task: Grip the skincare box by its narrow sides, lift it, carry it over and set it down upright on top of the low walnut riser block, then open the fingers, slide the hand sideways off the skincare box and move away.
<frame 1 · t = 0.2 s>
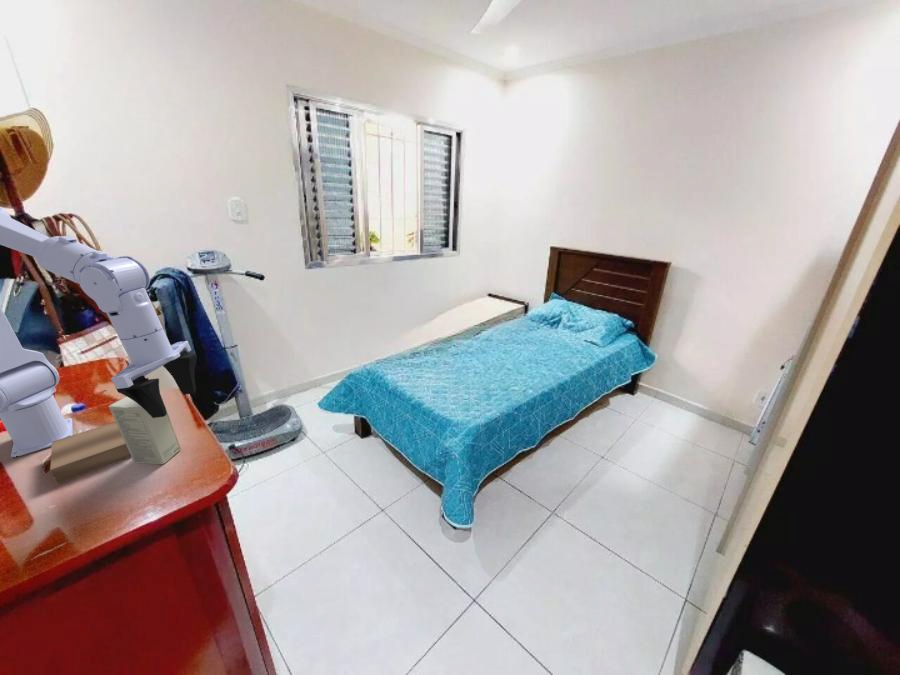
hand: (175, 404, 64), 10 cm above the table, tool pointing down, fingers open, 7 cm apart
riser: (96, 455, 67), on the table
skincare box: (157, 457, 67), on the table
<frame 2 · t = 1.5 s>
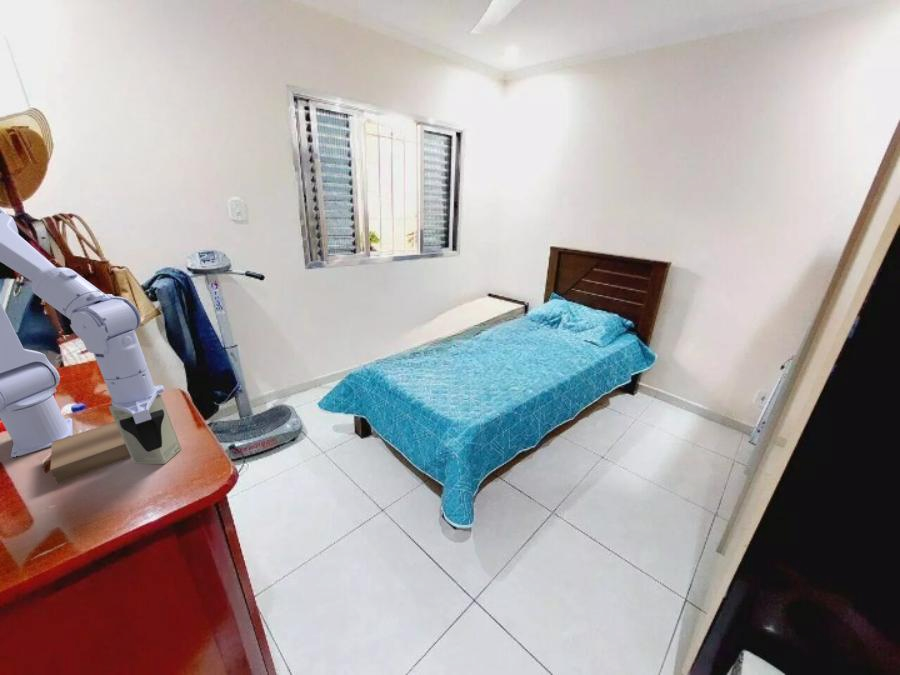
hand: (151, 438, 65), 4 cm above the table, tool pointing down, fingers open, 7 cm apart
skincare box: (157, 457, 67), on the table, touching gripper
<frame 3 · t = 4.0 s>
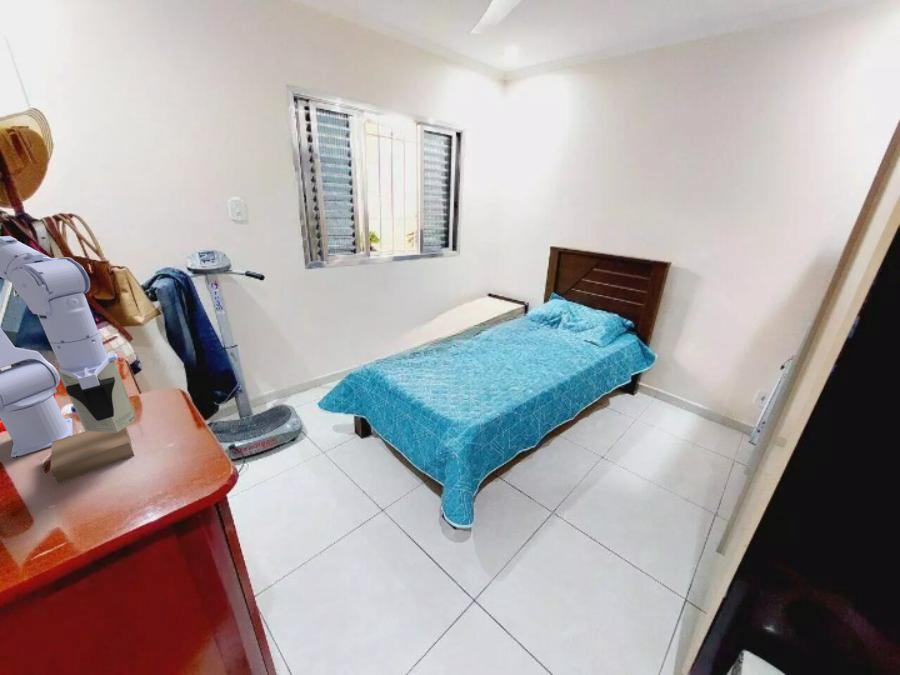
hand: (103, 408, 63), 10 cm above the table, tool pointing down, fingers closed on skincare box, 7 cm apart
skincare box: (111, 426, 64), point 6 cm above the table, touching gripper
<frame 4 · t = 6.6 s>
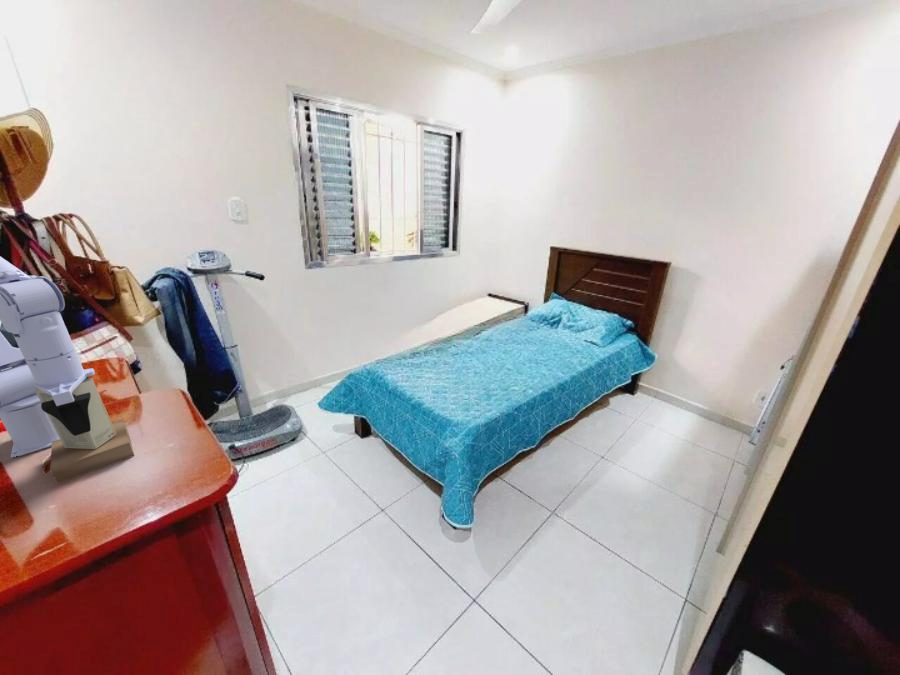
hand: (81, 422, 64), 7 cm above the table, tool pointing down, fingers closed on skincare box, 7 cm apart
skincare box: (90, 442, 66), point 3 cm above the table, touching gripper, riser
when the fingers open (7 cm above the table, at t = 7.7 s): skincare box stays where it is, resting on riser.
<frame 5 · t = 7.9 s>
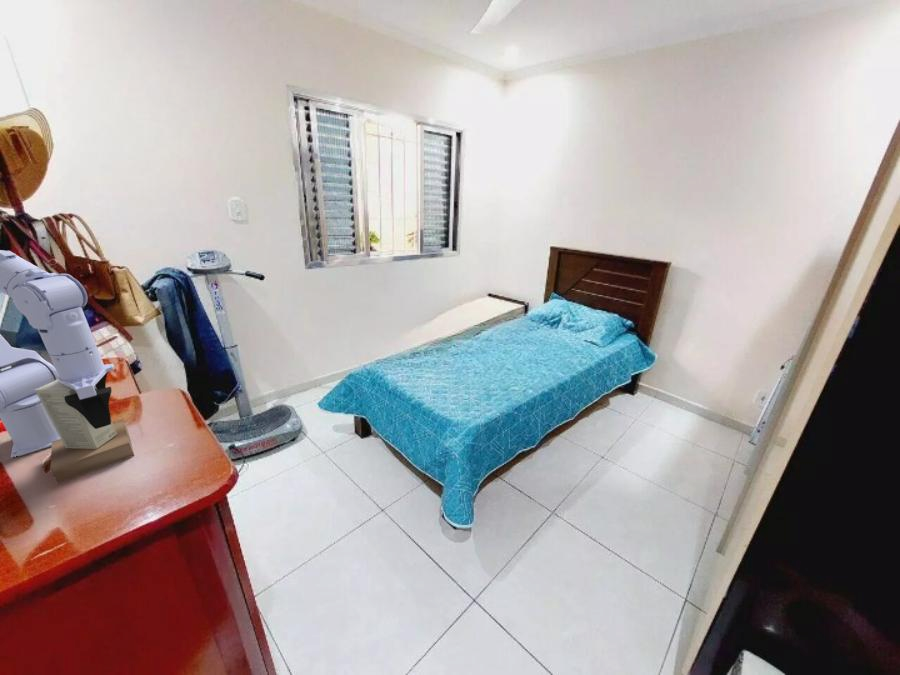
hand: (101, 416, 66), 7 cm above the table, tool pointing down, fingers open, 7 cm apart
skincare box: (91, 442, 66), point 3 cm above the table, touching riser
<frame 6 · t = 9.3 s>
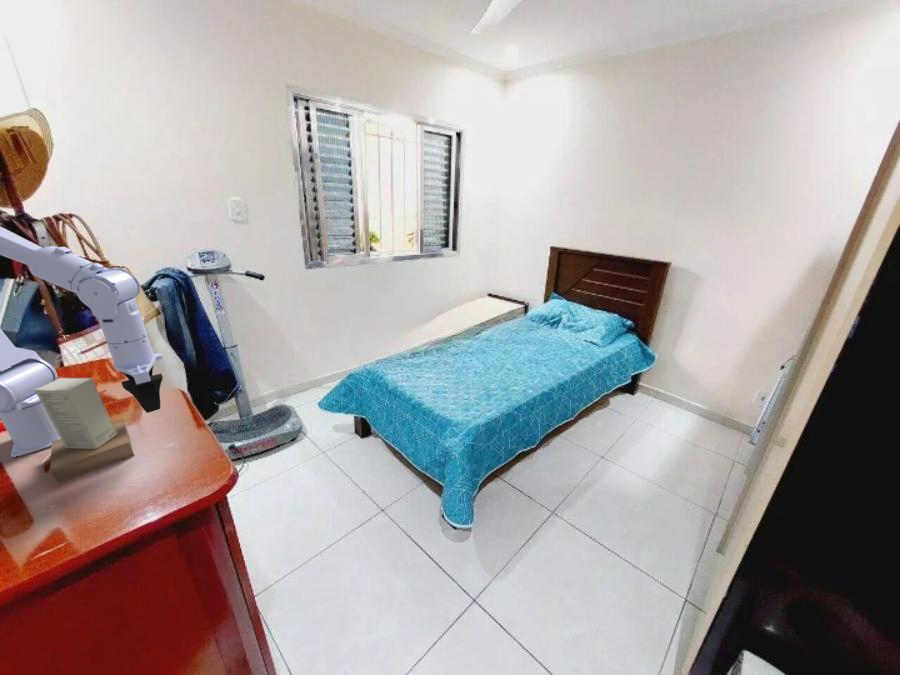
hand: (150, 402, 70), 7 cm above the table, tool pointing down, fingers open, 7 cm apart
nothing on the table moved.
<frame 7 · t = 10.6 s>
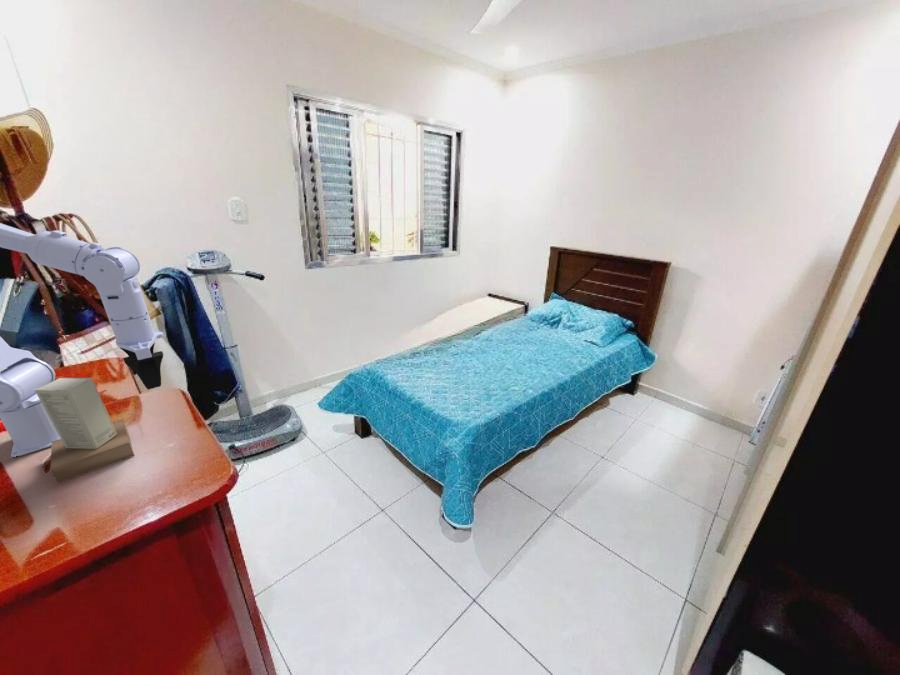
hand: (151, 380, 72), 10 cm above the table, tool pointing down, fingers open, 7 cm apart
nothing on the table moved.
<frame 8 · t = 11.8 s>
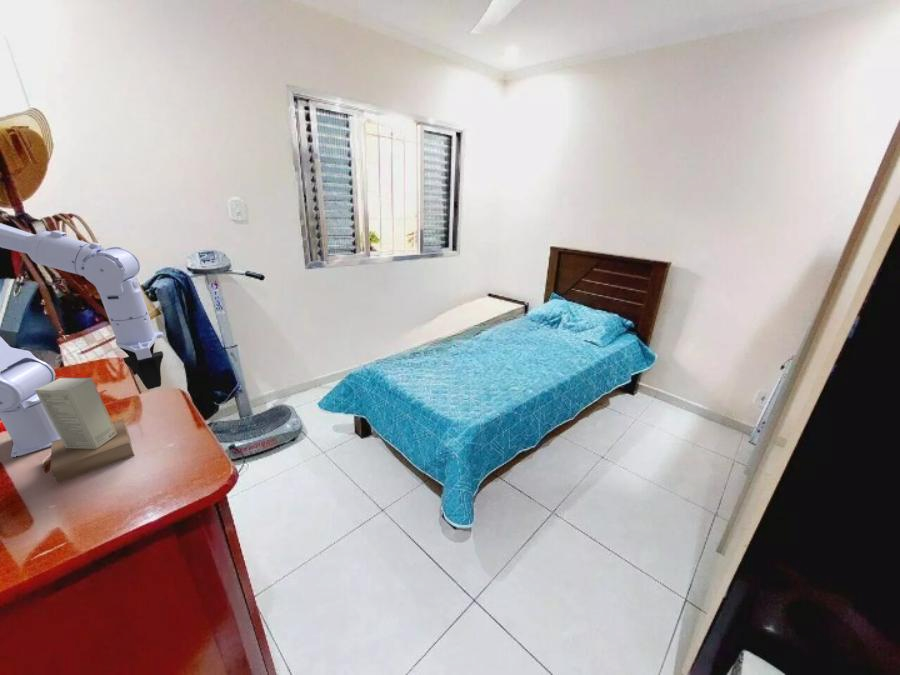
hand: (151, 380, 72), 10 cm above the table, tool pointing down, fingers open, 7 cm apart
nothing on the table moved.
at the end: skincare box 0.1 cm off-centre on the riser, point 2.8 cm above the riser's base; skincare box tilted 0°; the gripper is holding nothing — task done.
